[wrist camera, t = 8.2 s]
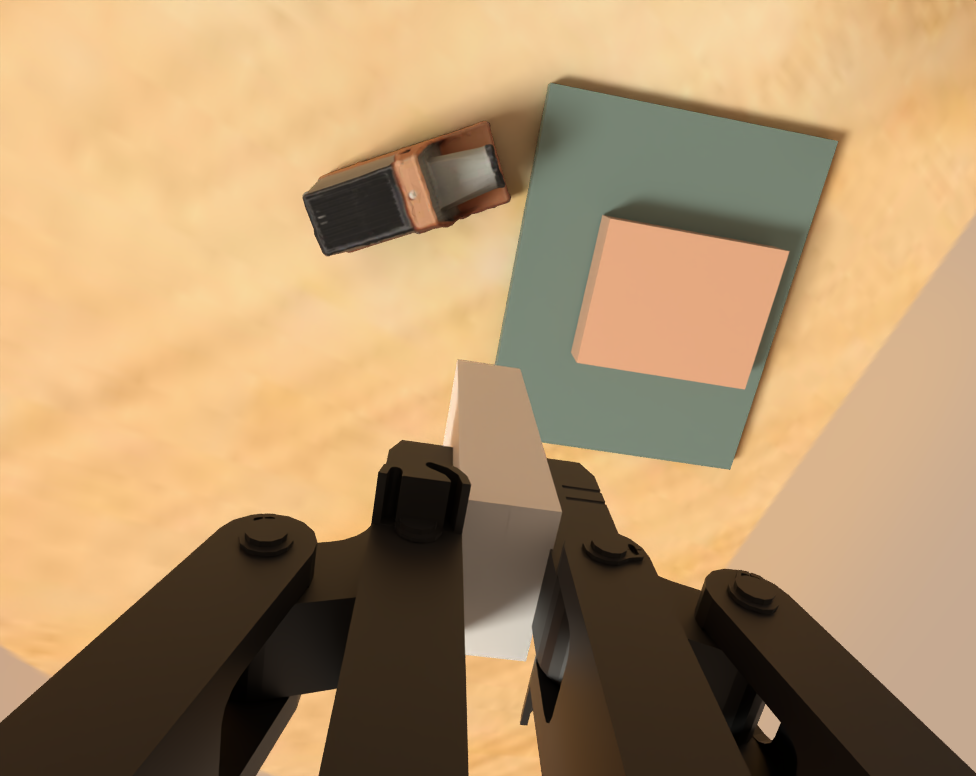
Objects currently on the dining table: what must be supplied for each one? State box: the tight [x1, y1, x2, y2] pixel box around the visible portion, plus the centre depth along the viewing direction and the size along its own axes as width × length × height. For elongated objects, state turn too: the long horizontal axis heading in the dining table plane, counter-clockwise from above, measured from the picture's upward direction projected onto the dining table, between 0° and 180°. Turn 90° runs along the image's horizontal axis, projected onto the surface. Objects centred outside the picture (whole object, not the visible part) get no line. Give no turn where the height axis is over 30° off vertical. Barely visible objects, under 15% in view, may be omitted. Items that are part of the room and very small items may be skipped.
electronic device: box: [303, 121, 511, 256], centre depth 34 cm, size 4×10×8 cm, turn 107°
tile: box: [571, 215, 790, 389], centre depth 38 cm, size 8×2×10 cm
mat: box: [495, 83, 838, 470], centre depth 39 cm, size 20×16×1 cm
